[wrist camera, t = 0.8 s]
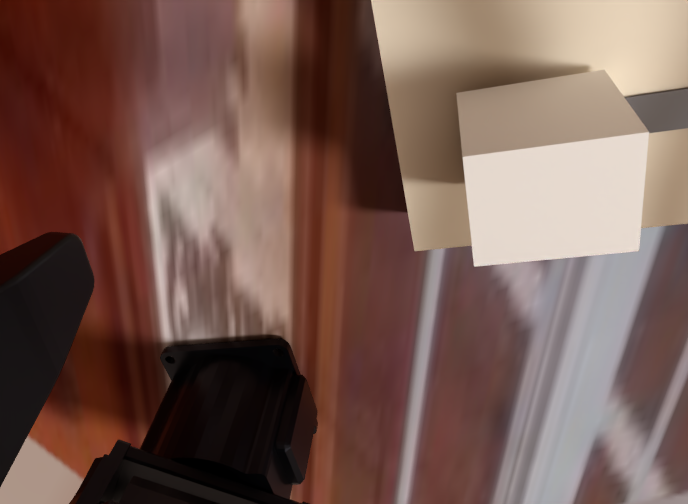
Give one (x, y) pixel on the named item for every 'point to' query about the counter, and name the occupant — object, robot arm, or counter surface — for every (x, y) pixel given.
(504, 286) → the counter surface
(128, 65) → the counter surface
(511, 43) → the switch board
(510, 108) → the switch
